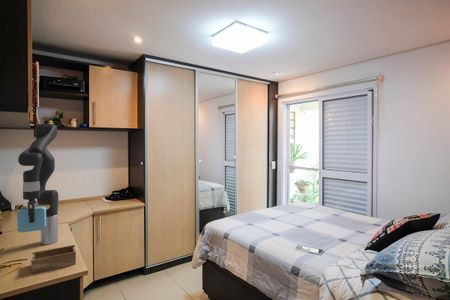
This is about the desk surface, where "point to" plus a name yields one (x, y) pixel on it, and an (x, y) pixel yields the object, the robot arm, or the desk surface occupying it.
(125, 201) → the desk surface
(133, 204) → the desk surface
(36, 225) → the light blue flat block
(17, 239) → the desk surface
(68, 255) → the crate
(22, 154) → the robot arm
